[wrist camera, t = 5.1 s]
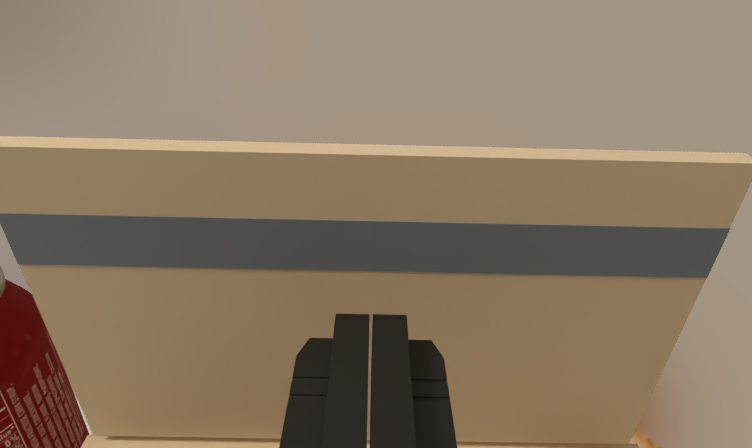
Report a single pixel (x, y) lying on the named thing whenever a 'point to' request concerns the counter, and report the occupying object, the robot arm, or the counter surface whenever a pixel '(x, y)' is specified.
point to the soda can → (33, 379)
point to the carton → (147, 444)
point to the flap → (363, 273)
